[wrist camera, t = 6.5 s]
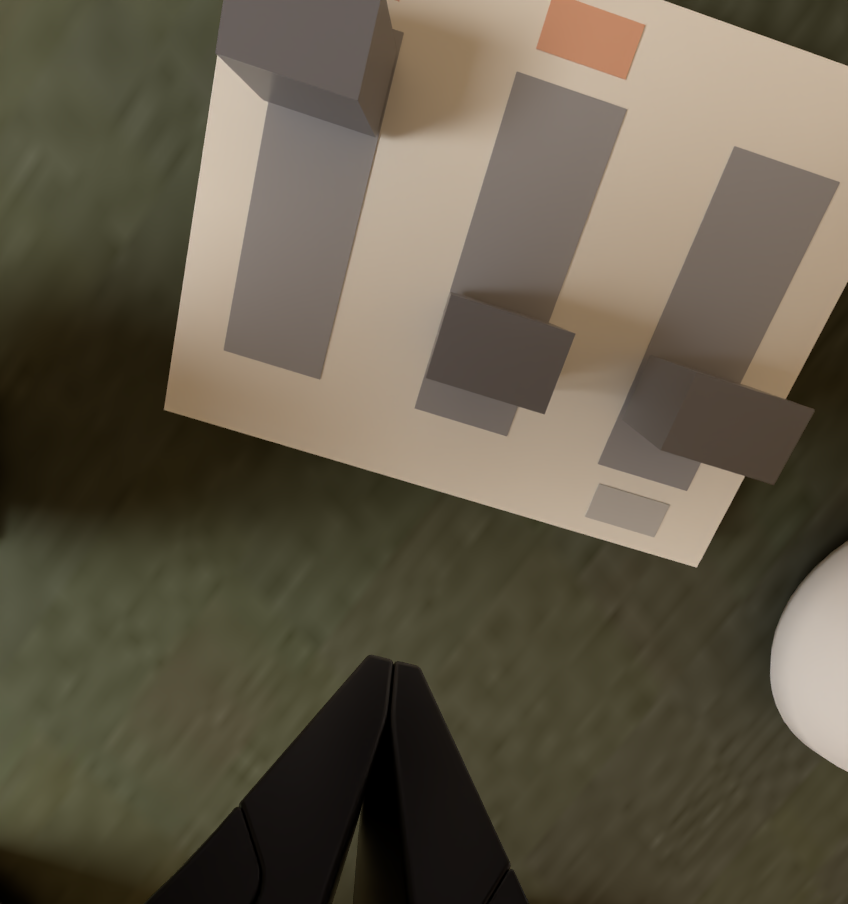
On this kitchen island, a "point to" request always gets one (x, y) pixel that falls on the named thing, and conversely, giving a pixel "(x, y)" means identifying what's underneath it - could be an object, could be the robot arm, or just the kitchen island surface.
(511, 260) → the switch panel
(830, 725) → the flower in vase
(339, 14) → the tab
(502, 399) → the tab
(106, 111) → the kitchen island surface
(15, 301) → the kitchen island surface
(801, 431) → the tab
